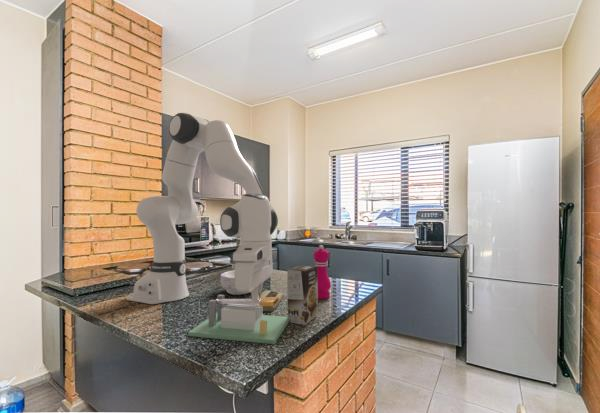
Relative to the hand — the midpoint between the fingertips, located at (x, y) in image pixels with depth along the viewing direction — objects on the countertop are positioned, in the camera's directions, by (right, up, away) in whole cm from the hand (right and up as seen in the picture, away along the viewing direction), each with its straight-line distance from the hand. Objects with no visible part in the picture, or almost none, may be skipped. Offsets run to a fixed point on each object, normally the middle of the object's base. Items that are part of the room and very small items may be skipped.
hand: (256, 299), depth 81 cm
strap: (-3, -1, +1) cm, 4 cm away
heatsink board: (-4, -8, +1) cm, 9 cm away
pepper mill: (+21, -9, +30) cm, 38 cm away
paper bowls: (-13, -9, +38) cm, 41 cm away
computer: (+1, -9, +22) cm, 24 cm away
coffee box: (+13, -9, +8) cm, 18 cm away
